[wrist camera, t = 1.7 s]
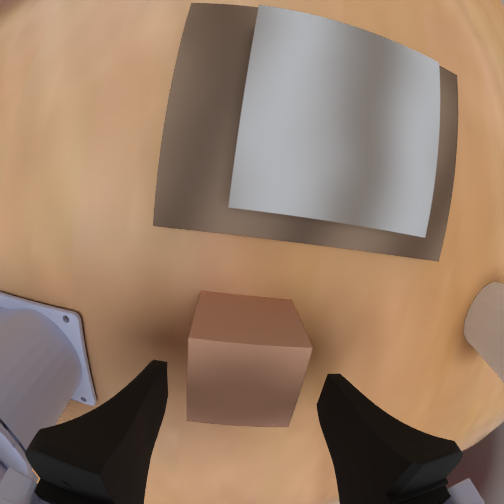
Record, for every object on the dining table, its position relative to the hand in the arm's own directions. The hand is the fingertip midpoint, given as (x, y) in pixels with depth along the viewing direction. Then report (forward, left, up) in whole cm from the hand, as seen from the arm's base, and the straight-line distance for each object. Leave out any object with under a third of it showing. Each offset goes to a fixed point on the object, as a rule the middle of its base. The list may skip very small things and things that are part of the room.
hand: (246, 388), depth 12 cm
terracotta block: (0, 0, -5) cm, 5 cm away
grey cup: (+20, +2, -5) cm, 21 cm away
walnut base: (+3, +12, -5) cm, 13 cm away
